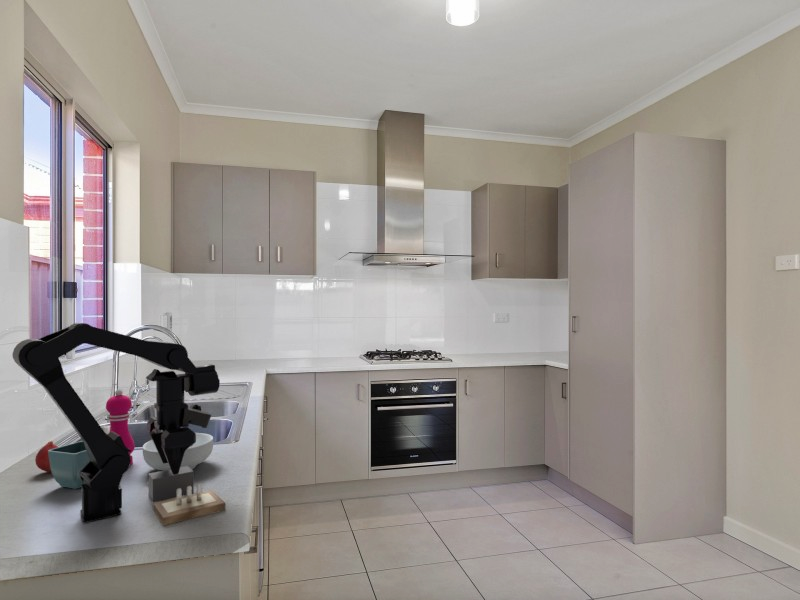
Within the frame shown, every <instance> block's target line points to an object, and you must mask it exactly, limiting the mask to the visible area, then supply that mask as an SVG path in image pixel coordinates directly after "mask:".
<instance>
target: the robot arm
mask: <svg viewBox="0 0 800 600" xmlns="http://www.w3.org/2000/svg"><path fill="white" fill-rule="evenodd" d="M83 344H87V345H91V346H95V347H99V348H103V349H108V350H111V351H116V352H119V353H123V354H126V355H128V354H129V355H132V356H135V357H138V358H140V359H142V360H144V361H147V362H148V363H151V364H154V365H156V366H158V367H160V368H164V369H168V370H169V371H160V370H159V369H157V368H154V369H153V370H152V372H150V373H149V374H148V375H146V377H145V379H146V380H147V381H150V382H156V383H155V384H156V402H154V404H153V405H154V409H156V410H155V411H156V415H155V416H152V417H151V418H149V420H147V421H146V422H147V424H146V426H147V427H146V428H147V429H146V430H147V432H148V435H149V436H150V438H151V440H152V441H153V443H154V445H155V447H156V449H157V451H158V453H159V456H160V458H161V460H162V462H163V463H164V464H165V463H168V464H169V466H170V469H171V471H172V473H173V475H175V474H178V473H179V470H180V466H181V463H182V459H183V456H184V453H185V451H186V450H187V449H188V448H189V447H190V446H192V445H193V444H194V443H195V442H196V433H197V432H194V431H193V430H192V429H191V428H189V427H190V425H192V426H197V427H201V428H203V429H208V427H209V423H210V420H211V417H212V414H211V413H210V412H207V411H205V410H202V406H201V405H199V404H197V403H192V404H191V405H190V406H189V404H188V403H187V402H185V392H186V393H187V394H189V396H191V397H194V396H200V395H201V396H202V395H210V394H215V393H217V392H218V391H219V389H220V385H221V384H220V378H219V374H218V372H217V370H216V366H215V364H212V363H211V364H205V365H198V366H196V365H195V364H194V363H193V362H192V361H191V359H190V358H189V353H188V350H187V348H186V347H185V346H184V345H182V344H179V343H175V342H168V341H157V340H145V339H141V338H137V337H134V336H129V335H127V334H123V333H118V332H116V331H115V332H114V331H111V330H107V329H104V328H99V327H96V326H93V325H90V324H89V323H84V322H75V323H72V324H70V326H69V325H68V326H67V327H65V328H62V329H60V330H57V331H54V332H52V333H50V334H46V335H44V336H42V337H40V338H38V339H36V338H27V339H24V340H21V342H18V343H17V344H16V346H14V348H13V351H12V353H11V354H12V359H13V361H14V363H15V364H17V366H18V367H19V368H20V369H22V370H23V371H24V372H25V373H26V374H27V375H29V376H30V377H31V378H32V379H34V381H36V382H37V383H38V384H39V385H40V386H41V387H43V388H44V390H45V392H46V393H47V395H49V397H50V398H51V399H52V401H53V403H54V404H55V405H56V407H57V408H58V409H59V410H60V412H61V413H62V414H63V416H64V417H65V419H66V420H67V421H68V423H69V424H70V425H71V427H72V428H73V429H74V431H75V432H76V433H77V435H78V436H79V437H80V439H81V441H83V442H84V445H85V449H86V452H87V454H88V457H89V459H90V461H89V462H88V463H87V464H86V465H85V466H84V467H83V468H82V469H81V470H80V472H79V476H80V478H81V480H82V481H83V482H85V483H86V484H82V487H81V509H80V511H79V512H80V515H81V518H82V522H83V523H89V522H93V521H99V520H102V519H105V518H110V517H114V516H119V515H121V513H122V512H121V509H122V508H123V489H122V487H121V484H120V483H121V481H122V479H123V476H124V474H125V473H126V472H127V470H128V469H129V468H130V466H131V465H130V462H131V457H130V455H131V454H130V455H129V454H128V452H131V450H130V449H128V448H127V447H126V446H125V444H124V442H123V440H122V438H121V436H119V435H118V434H116V433H114V432H113V431H110V430H109V432H108V433H106V432H105V431H104V430H103V428H102V427H101V425H100V423H98V421H97V420H96V418H95V417H94V416H93V414H92V413H91V412H90V410H89V408H88V407H87V405H86V404H85V403H84V401H83V399H81V397H80V396H79V395H78V393H77V392H76V390H75V389H74V388H73V386H72V385H71V383H70V382H69V381H68V379H67V377H66V375H65V371H64V370H63V366H62V363H61V360H60V357H62V356H65V355H67V354H68V353H70V352H71V351H74V349H76V348H78V347H79V346H82V345H83ZM175 371H179V372H183V373H178V374H177V373H176V372H175Z"/></svg>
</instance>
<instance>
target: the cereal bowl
mask: <svg viewBox="0 0 800 600" xmlns="http://www.w3.org/2000/svg"><path fill="white" fill-rule="evenodd" d="M195 433H196V442H195V443H194V444H193V445H192V446H190V447H189V448H188V449H187V450H186V451H185V453H184V456H183V459H182V463H181V466H180V467H186V466H189V467H190V468H191V469H192V470H193V469H195V468H196V467H197V465H200V464H202V463H203V462H205V461H206V460H207V459H208V458H209V457H210V455H211V454H212V452H213V449H214V436H213V435H211V434H208V433H201V432H195ZM142 456H143V460H144V462H145V463H146V464H147V466H148V467H150V468H152V469H154V470H157V471H165V470H170V466H169V464H168V463H165V464H164V463H163V462H162V460H161V458H160V456H159V453H158V451H157V449H156V447H155V445H154V443H153V441H152V439H150V440H148V441H147V442H145V443H144V444H143V445H142Z"/></svg>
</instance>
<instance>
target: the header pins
mask: <svg viewBox="0 0 800 600" xmlns="http://www.w3.org/2000/svg"><path fill="white" fill-rule="evenodd" d="M202 486H203V485H202V483H198V484H196V493H197V501H201V500H202V492H203V491H202V489H203V487H202ZM175 498H176V505H177V506H180V505H182V490H181V488H178V489H177V490H176V497H175ZM191 502H192V487H191V486H188V487H187V503H191Z"/></svg>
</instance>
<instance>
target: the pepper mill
mask: <svg viewBox="0 0 800 600" xmlns="http://www.w3.org/2000/svg"><path fill="white" fill-rule="evenodd" d="M123 392H124V391H123V390H122V389H120V388H119V389H116V390H115V391H114V394H115V395H113V396H111V397H109V398H108V399H107V401H106V402H105V403H106V404H105V410H106V411H107V412H108V415H107V416H108V419H107V420H108V421H109V423H110V425H109V432H110V431H113V432H114V433H116V434H118V435H119V436H121V438H122V440H123V442H124V444H125V446H126V447H127V448H128V449H130V450H131V452H128V454H129V455H130V457H131V462H130V466H131V465H132V464H133V462H134V461H133V459H134V458H133V455H131V454H132V453H133V452H134V451H135V448H136V447H135V441H134V439H133V437H132V435H131V433H130V431H129V426H128V425H129V419H130V418H131V416H130V414H131V413H130V412H129V411H130V410H131V408H132V406H133V405H132V404H133V403H132V402H133V401H132V400H131V398H130V397H129V396H127V395H124V394H123Z"/></svg>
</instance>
